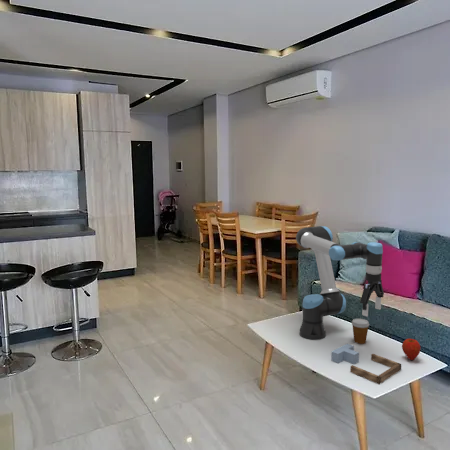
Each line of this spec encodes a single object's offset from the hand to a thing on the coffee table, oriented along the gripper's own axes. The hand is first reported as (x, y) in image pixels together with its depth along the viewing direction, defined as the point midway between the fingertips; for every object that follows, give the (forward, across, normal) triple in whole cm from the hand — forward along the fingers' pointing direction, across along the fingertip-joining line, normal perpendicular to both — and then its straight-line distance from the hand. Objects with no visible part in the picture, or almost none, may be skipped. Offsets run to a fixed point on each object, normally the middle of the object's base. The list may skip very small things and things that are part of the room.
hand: (371, 312), depth 208 cm
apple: (+23, +9, -18) cm, 30 cm away
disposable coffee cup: (+24, +10, +11) cm, 28 cm away
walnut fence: (+22, -15, -11) cm, 29 cm away
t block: (+23, -14, +4) cm, 27 cm away
